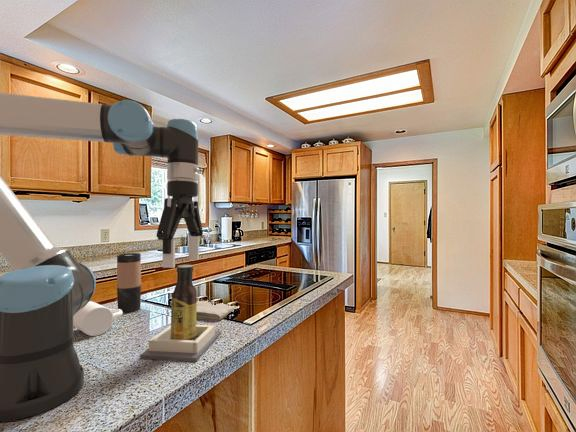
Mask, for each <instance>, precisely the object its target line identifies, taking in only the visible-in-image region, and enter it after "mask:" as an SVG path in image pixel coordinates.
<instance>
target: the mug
mask: <svg viewBox="0 0 576 432" xmlns="http://www.w3.org/2000/svg"><path fill="white" fill-rule="evenodd" d="M123 315H124V313H123V312H122V310H120V309H118V308H108V307H106V306H104V305H102V304H100V303H96V302H95V301H92V300H90V301H89V302H88V303H87V304H86V306H84V307H83V308H82V309H80V310H79V311H78V312H77V313H76V314H75V315H74V316H73V328H77V330H80V331H81V332H82V333H84V334H86V335H87V336H91V337H97V336H101V335H103V334H104V333H106V332H107V331H108V330H109V329H110V328H111V327H112V325H113V323H114V322H113V321H114V319H116V318H119V317H121V316H123Z"/></svg>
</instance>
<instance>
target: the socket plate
mask: <svg viewBox="0 0 576 432" xmlns="http://www.w3.org/2000/svg"><path fill="white" fill-rule="evenodd" d="M221 333H222V332H221V330H220V331H217V330H216V325H214V324H213V325H211V324H196V335H195V337H196V338H195V340H173V339H171V324H170V325H168V326H167V327H165V328H164V329H163V330H162V331H160V332H159V333H158V334H156V335H155V336H153V337H152V338H150V339H149V340H148V348H147V349H146V350H145V351H144V352H142V353H141V354H140V355H139V358H140V359H142V360H143V359H144V360H163V361H165V360H166V361H182V362H197V361H199V359H200V358H202V356H203V355H205V353H206V352H207V351H208V350H209V349H210V347H211V346H212V345H213V344H214V343H215V342H216V340H217V339H218V338H219V337H221V335H222V334H221Z"/></svg>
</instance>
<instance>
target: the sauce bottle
mask: <svg viewBox="0 0 576 432" xmlns="http://www.w3.org/2000/svg"><path fill="white" fill-rule="evenodd" d="M193 272H194V265H192V264H180V265H177V266H176V273H177V277H176V284H175V287H174V290H173V293H172V295H171V304H170V305H171V308H170V309H171V311H170V313H171V314H170V316H171V317H170V325H171V339H173V340H195V338H196V337H195V335H196V325H197V318H196V312H197V301H198V300H197V289H196V287H195V286H194V284H193V282H194V281H193Z"/></svg>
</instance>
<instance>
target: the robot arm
mask: <svg viewBox="0 0 576 432" xmlns="http://www.w3.org/2000/svg"><path fill="white" fill-rule="evenodd" d="M0 136H9V137H10V136H13V137H26V138H28V137H29V138H41V139H45V138H46V139H55V140H56V139H57V140H58V139H59V140H67V141H68V140H69V141H84V142H85V141H87V142H101V143H110V144H112V146H113V150H114V152H116V153H117V154H119V155H126V156H129V157H134V156H136V157H138V156H139V157H154V158H155V157H156V158H166V159H167V174H166V175H167V176H166V178H167V180H169V181H168V182H167V183H166V184H167V185H166V189H167V190H166V191H167V196H168V198H167V197H165V198H164V204H163V209H162V212H161V217H160V220H159V224H158V227H157V231H156V238H157V240H159V241H162V268H166V269H167V268H170V269H171V268H172V269H174V268H176V240H175V239H174V237H175V234H176V232H177V230H178V227H179V224H180V223H181V220H182V219H183V220H184V222H185V225H186V227H187V230H188V232H189V235H190V236H188V260H189V261H190V260H191V261H194V260H195V261H198V260H199V259H200V237H203V232H204V231H203V225H202V221H201V220H202V219H201V215H200V211H199V201H197V200H193V198H195V197H198V195H199V183H198V182H196V181H198V180H199V172H200V169H199V131H198V126H197V124H196V123H195V122H194V121H192V120H189V119H185V118H171V119H169V121H167V125H166V126H154V123H153V119H152V117H151V115H150V114H149V112H148V110H147V109H146V108H145V106H143V105H142V104H141V103H138V102H137V101H134V100H131V99H130V100H129V99H124V100H119V101H117V102H115V103H113V104H109V103H108V104H106V103H97V102H96V103H95V102H87V101H86V102H85V101H78V100H69V99H61V98H60V99H59V98H53V97H52V98H51V97H41V96H33V95H23V94H15V93H7V92H0ZM0 255H1V257H2V258H3V259H4V260H5V261H6V262H7V264H8V265H9V266H10V267H11V269H12V271H8V272H5V273H4V274H1V275H0V421H6V422H13V421H16V420H22V419H25V418H29V417H33V416H36V415H39V414H41V413H44V412H46V411H50V410H51V409H53V408H56V407H58V406H60V405H62V404H63V403H65V402H67V401H68V400H70V399H72V398H73V397H75V396H76V395H77V394H78V393H79V392H80V391H81V389H83V387H84V384H85V370H84V367H83V366H82V365H81V363H80V360H79V357H78V356H79V355H78V354H77V351H76V349H75V346H74V326H73V316H74V315H75V314H76V313H77V312H78V311H79V310H80V309H82V308H83V307H84V306H86V304H87V303H88V302H89V301H91V300H92V298H93V295H94V293H95V290H96V285H97V281H96V276H95V274H94V272H93V271H92V270H91V268H89V267H88V266H87V265H86V264H83V263H81V262H78V260H77V259H76V258H75V257H74V256H73V254H72V253H71V252H70V251H69V250H68V249H67V248H62V247H58V246H56V245H55V244H54V243H53V241H52V240H51V239H50V237H49V236H48V235H47V234H46V232H45V231H44V230H43V229H42V227H41V226H40V225H39V223H38V222H37V221H36V220H35V219H34V217H33V216H32V214H31V213H30V212H29V211H28V209H27V208H26V207H25V205H24V204H23V203H22V202H21V200H20V199H19V198H18V197H17V196H16V194H15V193H14V191H13V190H12V189H11V187H10V186H9V185H8V184H7V183H6V181H5V180H4V179H3V177H2V176H1V175H0Z"/></svg>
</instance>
